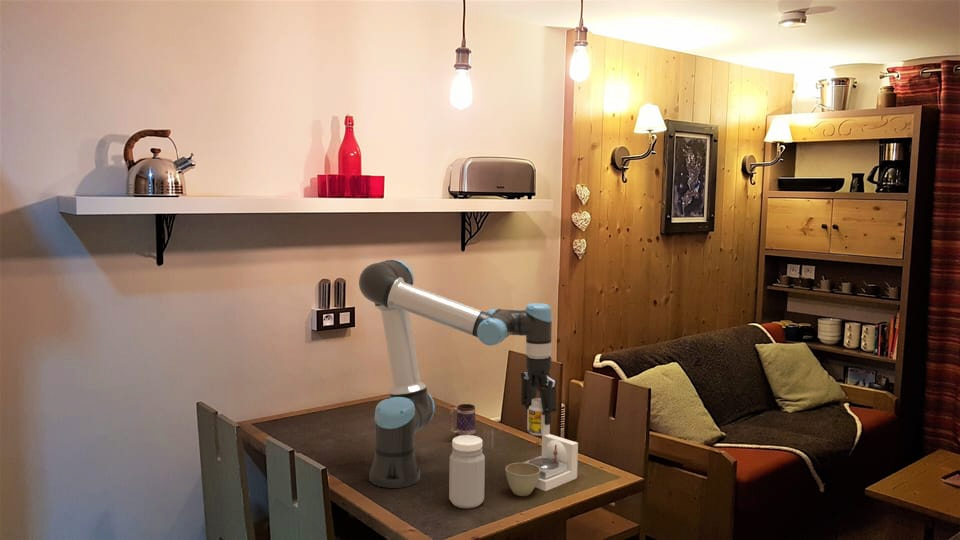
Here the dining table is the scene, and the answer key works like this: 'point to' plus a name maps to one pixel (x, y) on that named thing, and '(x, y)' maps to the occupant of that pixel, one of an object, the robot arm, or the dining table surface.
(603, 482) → the dining table surface
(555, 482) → the scale base
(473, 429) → the mug
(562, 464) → the pan
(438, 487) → the dining table surface
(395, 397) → the robot arm
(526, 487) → the flower pot
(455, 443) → the jar
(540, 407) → the supplement bottle
